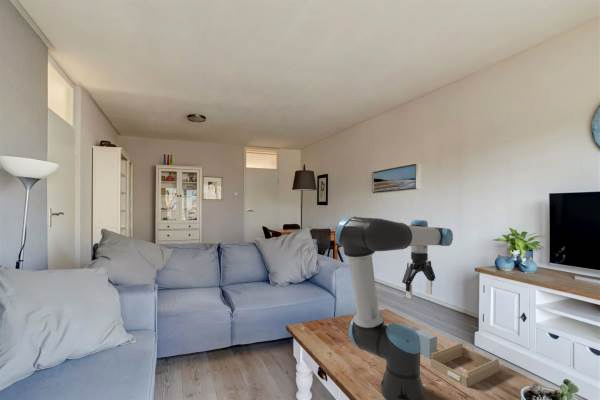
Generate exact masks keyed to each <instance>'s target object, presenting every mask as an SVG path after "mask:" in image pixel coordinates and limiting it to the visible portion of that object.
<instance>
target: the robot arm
mask: <svg viewBox="0 0 600 400" xmlns="http://www.w3.org/2000/svg"><path fill="white" fill-rule="evenodd" d="M334 233H335V235H334V239H335V242H336V244H337V245H338V246H340V247H342V248H343V254H344V256H345V257H347V258H348V262H349V270H350V276H351V283H352V290H353V298H354V305H355V306H354V307H355V313H356V314H354V316H353V318H352V319H351V322H350V324H349V326H350V327H349V328H348V335H349V339H350V341H351V343H352V344H353V345H354V346H355V347H357V348H358V349H360V350H362V351H365V352H368V353H369V354H372V355H374V356H376V357H379V358H381V359H383V360H385V371H384V374H383V377H382V380H381V382H380V383H381V384H380V393H381V396H383V397H384V399H385V400H426V390H425V388H424V386H423V382H422V379H421V378H422V377H421V354H420V350H421V346H420V337H419V335H418V334H417V332H416V331H415V330H413V329H412V327H410V326H408V325H406V324H402V323H397V322H395V323H389V324H388V325H387V324H385V321H384V319H385V318H384V315H383V314H382V313H381V312H379V305H378V296H377V287H376V281H375V273H374V264H373V255H374V254H375V253H376V252H388V251H389V252H390V251H398V250H404V249H407V248H408V247H410V251H411V252H410V259H411V260H412V261H411V263H410V262H407V265H406V269H405V273H404V275H403V277H402V283H403V284H405V292H406V297H405V298H407V299H410V300H411V299H413V284H412V283H413V281H414V279H415V277H416V276H417V274H419V273H420V272H422V273H423V275H424V276H425V277H426V280H425V294H428V295H432V294H433V288H432V287H433V282H434V281H435V279H436V278H437V277H436V274H435V272H434V269H433V266H432V261H431V260H429V254H428V250H429V249H428V246H441V247H449V246H451V245H452V243H453V240H454V233H453V231H452V229H451V228H447V227H438V226H437V227H433V226H429V225H428V221H427V220H424V219H413V220H411V222H410V225H408V224H406V223H404V222H398V221H393V220H389V219H388V220H387V219H384V218H378V217H375V218H373V217H361V216H358V217H357V216H346V217H344V218H343V219H341V220H340V221H339V222H338V225H337V226H336V228H335V232H334Z"/></svg>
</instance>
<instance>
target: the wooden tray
mask: <svg viewBox="0 0 600 400" xmlns="http://www.w3.org/2000/svg"><path fill="white" fill-rule="evenodd" d="M463 345H464V344H463V342H460V343H458V344H454V345H452V346H449V347H446V348H444V349H441V350H437V352H435V353H432V358H431V359H430V369H432V370H434V371H436V372H439V373H440V374H442V375H444V376H445V377H447V378H449V379H451V380H453V381H455V382H457V383H459V384H460V385H462V386H464V387H466V388H469V387H470V386H473V385H475V384H477V383H478V382H481V381H484V380H485V379H487V378H489V377H491V376H494V375H495V373H496V374H498V373H500V363H499V360H500V359H499V358H496V359H491V358H489V357H486V356H484V355H482V354H480V353H477V352H475V351H473V350H470V349H468V348H466V347H464V346H463ZM458 357H459V358H461V357H464V358H466V359H468V358H469V359H468V360H471V361H473V360H474V361H473V362H475V361H476V362H475V363H477V362H478V364H480V365H479V366H478V367H475V368H473V369H471V370H468V371H467V372H466V376H465V375H464V374H462V373H460V372H458V371H456V370H455V369H452V368H451V367H448V366H447V365H445V364H446V363H449V362H450V361H453V359H454V360H455V358H456V359H458ZM448 361H449V362H448ZM482 364H483V365H482ZM497 372H498V373H497ZM493 374H494V375H493Z"/></svg>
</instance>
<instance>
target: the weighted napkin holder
mask: <svg viewBox="0 0 600 400" xmlns="http://www.w3.org/2000/svg"><path fill="white" fill-rule="evenodd" d="M411 328H412V329H413V330H415V331H416V332H417V334H418V335H419V337H420V346H421V350H420V356H421V355H422V356H423V357H425V358H427V359H429V360H431V358H432V353H435V352H438V336H436V335H434V334H432V333H430V332H428V331H426V330H423V329H421V328H419V327H417V326H413V327H411Z"/></svg>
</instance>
